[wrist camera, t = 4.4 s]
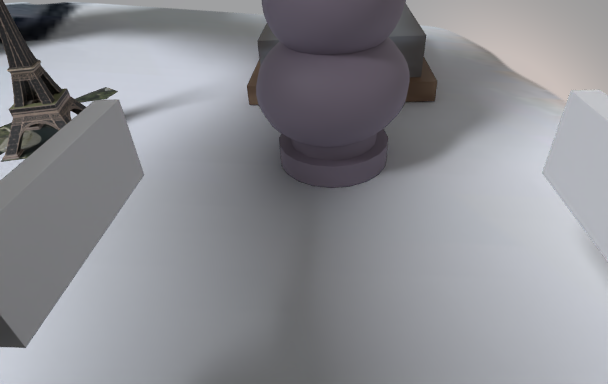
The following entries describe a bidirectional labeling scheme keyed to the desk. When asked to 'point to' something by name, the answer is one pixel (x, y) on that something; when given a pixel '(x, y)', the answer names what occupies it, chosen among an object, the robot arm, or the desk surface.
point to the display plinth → (412, 95)
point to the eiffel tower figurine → (34, 97)
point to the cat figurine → (332, 86)
